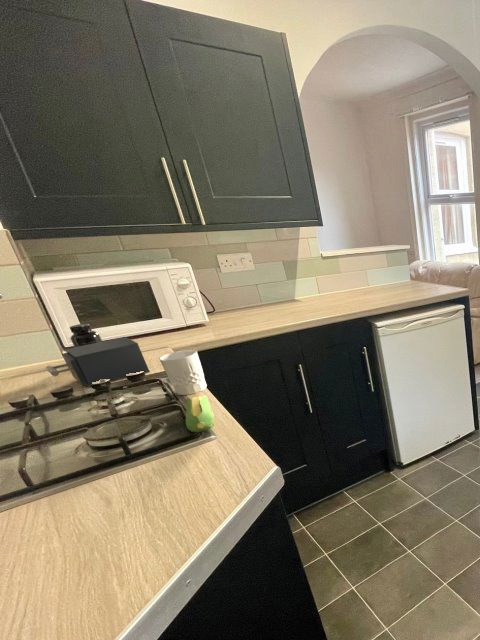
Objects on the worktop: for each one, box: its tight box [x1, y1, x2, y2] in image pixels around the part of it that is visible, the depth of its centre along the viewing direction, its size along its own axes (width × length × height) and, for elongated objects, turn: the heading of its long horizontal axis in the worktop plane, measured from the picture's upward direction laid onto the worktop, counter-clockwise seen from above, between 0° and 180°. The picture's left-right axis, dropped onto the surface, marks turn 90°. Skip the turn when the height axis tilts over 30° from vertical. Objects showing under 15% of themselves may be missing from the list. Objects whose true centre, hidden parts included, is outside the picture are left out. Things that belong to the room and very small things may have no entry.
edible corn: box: [185, 395, 215, 433], centre depth 95 cm, size 5×20×5 cm, turn 37°
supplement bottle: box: [69, 322, 103, 348], centre depth 136 cm, size 7×7×12 cm
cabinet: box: [65, 336, 150, 388], centre depth 123 cm, size 14×13×9 cm
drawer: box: [45, 352, 88, 386], centre depth 120 cm, size 17×11×7 cm
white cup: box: [159, 349, 208, 396], centre depth 110 cm, size 8×8×10 cm
